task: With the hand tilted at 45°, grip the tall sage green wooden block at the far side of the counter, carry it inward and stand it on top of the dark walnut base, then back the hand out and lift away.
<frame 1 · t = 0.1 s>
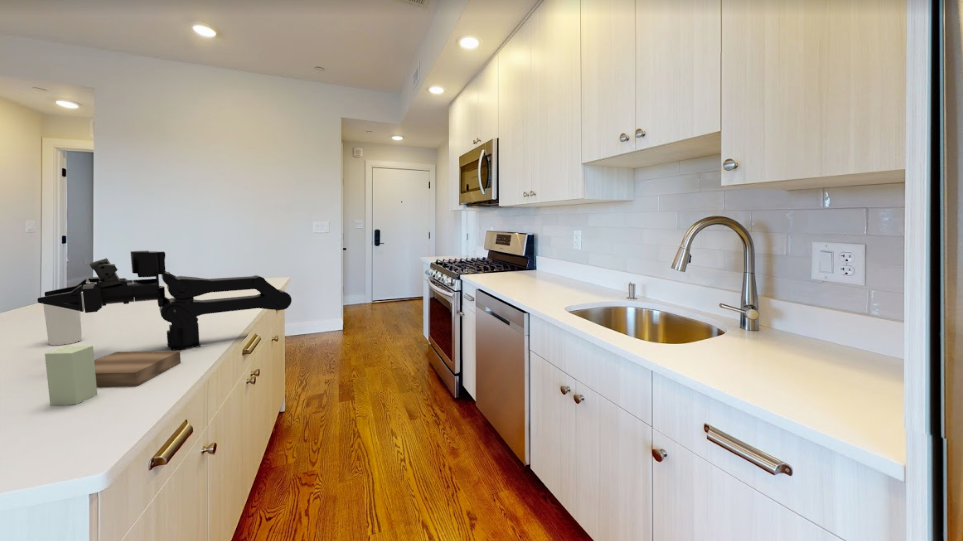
hand: (41, 297, 87), 17 cm above the worktop, tool horizontal, fingers open, 9 cm apart
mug: (65, 341, 107), on the worktop
base: (126, 374, 85), on the worktop
block: (74, 399, 73), on the worktop
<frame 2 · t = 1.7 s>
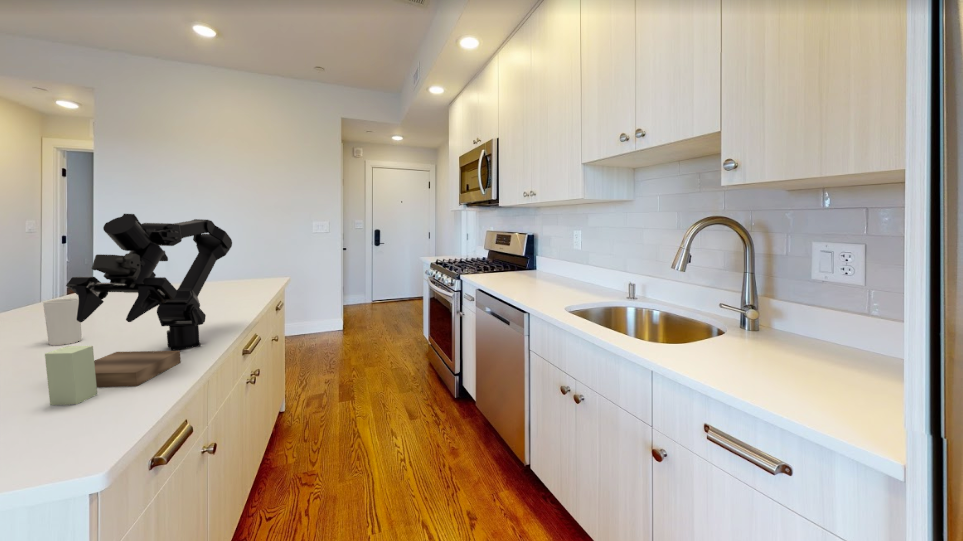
hand: (103, 321, 79), 14 cm above the worktop, tool tilted 45°, fingers open, 9 cm apart
nothing on the worktop moved.
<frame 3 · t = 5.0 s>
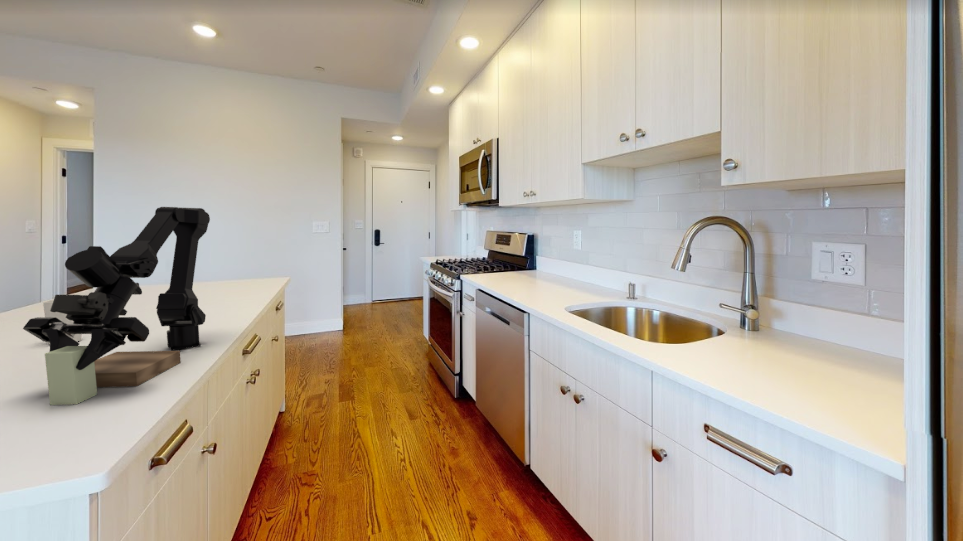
hand: (64, 369, 71), 7 cm above the worktop, tool tilted 45°, fingers closed on block, 4 cm apart
block: (74, 399, 73), on the worktop, touching gripper
everything else where it was.
when the fingers open (11 cm above the worktop, at t = 9.7 s): block drops 1 cm, resting on base.
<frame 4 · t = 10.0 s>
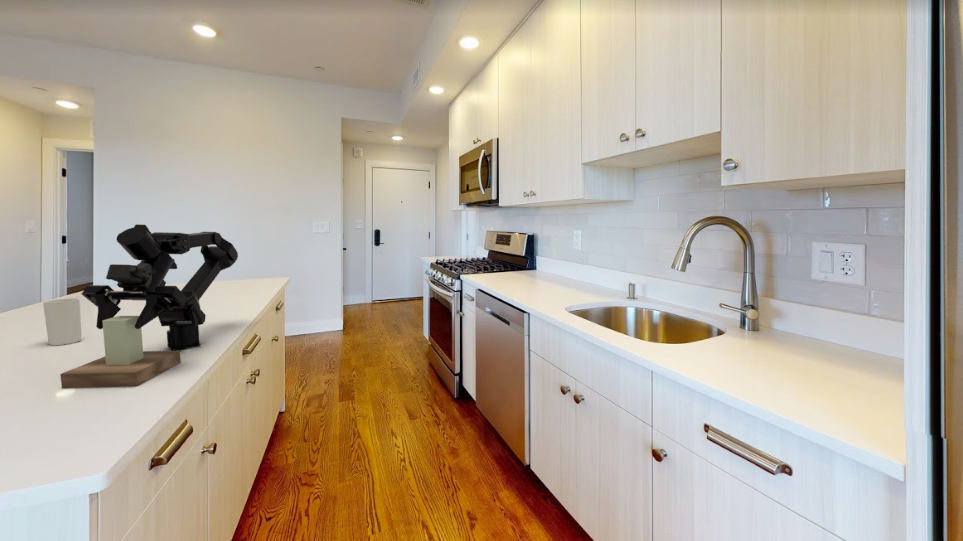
hand: (117, 328, 83), 11 cm above the worktop, tool tilted 45°, fingers open, 7 cm apart
block: (125, 361, 85), point 3 cm above the worktop, touching base
everything else where it was.
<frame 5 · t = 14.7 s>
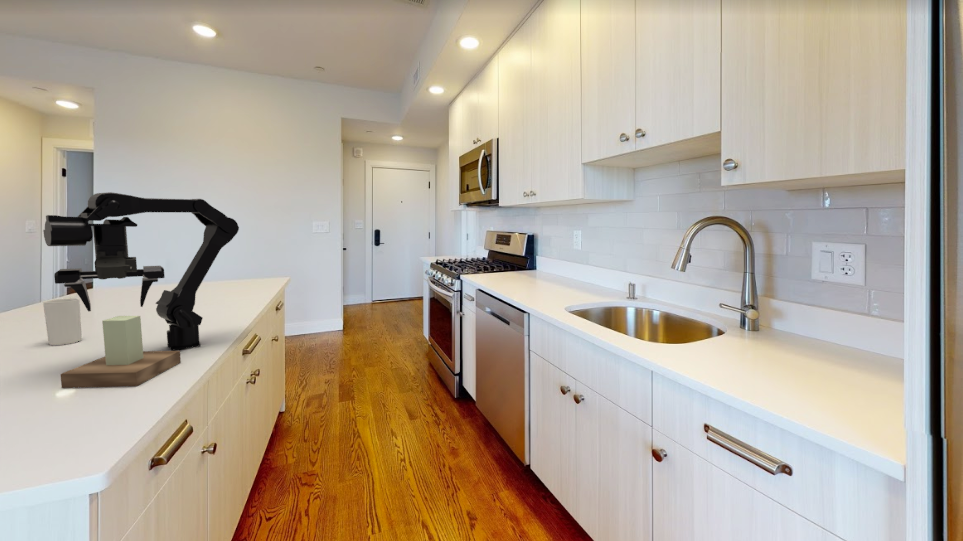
hand: (116, 308, 93), 13 cm above the worktop, tool pointing down, fingers open, 9 cm apart
nothing on the worktop moved.
at the end: block 0.1 cm off-centre on the base, point 3.0 cm above the base's base; block tilted 0°; the gripper is holding nothing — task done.
